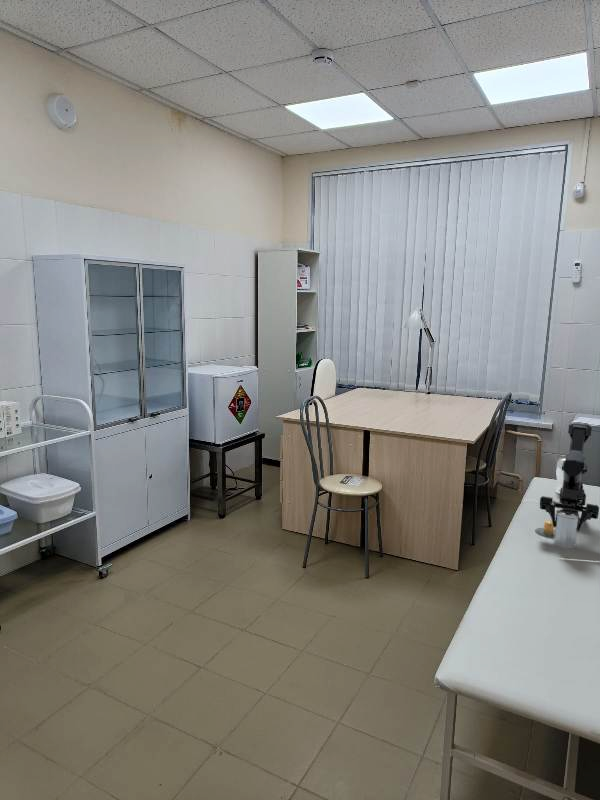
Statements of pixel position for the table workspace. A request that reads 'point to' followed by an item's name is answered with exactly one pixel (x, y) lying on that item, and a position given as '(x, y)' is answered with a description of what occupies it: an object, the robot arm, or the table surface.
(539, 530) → the rubber pad
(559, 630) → the table surface
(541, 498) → the robot arm
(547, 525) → the orange egg shape
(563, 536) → the grey cup
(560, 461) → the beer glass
